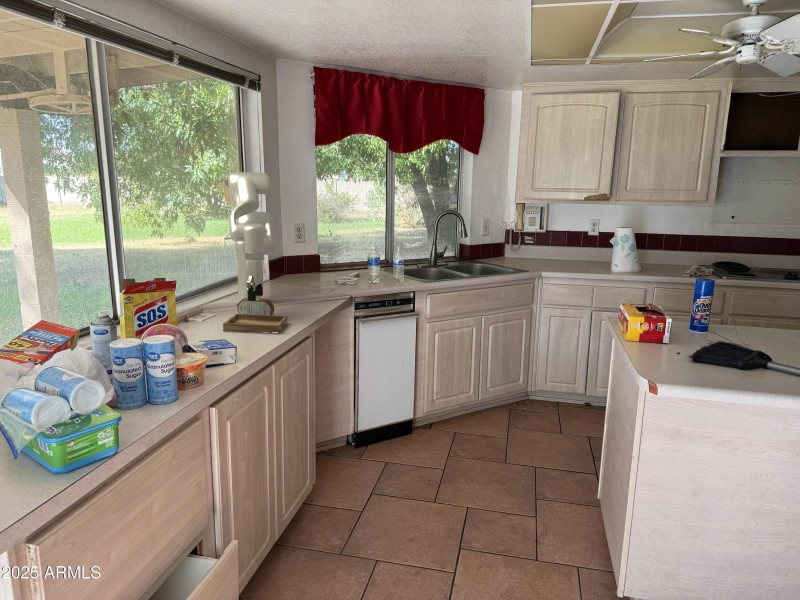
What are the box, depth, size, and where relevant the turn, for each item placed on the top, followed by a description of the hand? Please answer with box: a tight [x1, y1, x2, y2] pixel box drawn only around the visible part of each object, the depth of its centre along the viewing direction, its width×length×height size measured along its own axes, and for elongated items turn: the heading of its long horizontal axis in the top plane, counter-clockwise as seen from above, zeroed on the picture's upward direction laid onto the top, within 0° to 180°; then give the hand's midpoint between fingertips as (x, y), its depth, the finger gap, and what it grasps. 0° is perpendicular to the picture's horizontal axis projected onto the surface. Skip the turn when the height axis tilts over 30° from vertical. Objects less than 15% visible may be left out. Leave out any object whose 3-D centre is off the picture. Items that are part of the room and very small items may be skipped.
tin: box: [237, 297, 275, 316], centre depth 220 cm, size 15×3×8 cm, turn 84°
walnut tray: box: [222, 313, 288, 334], centre depth 208 cm, size 15×21×3 cm
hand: (255, 298), depth 219 cm, fingers open, 9 cm apart
